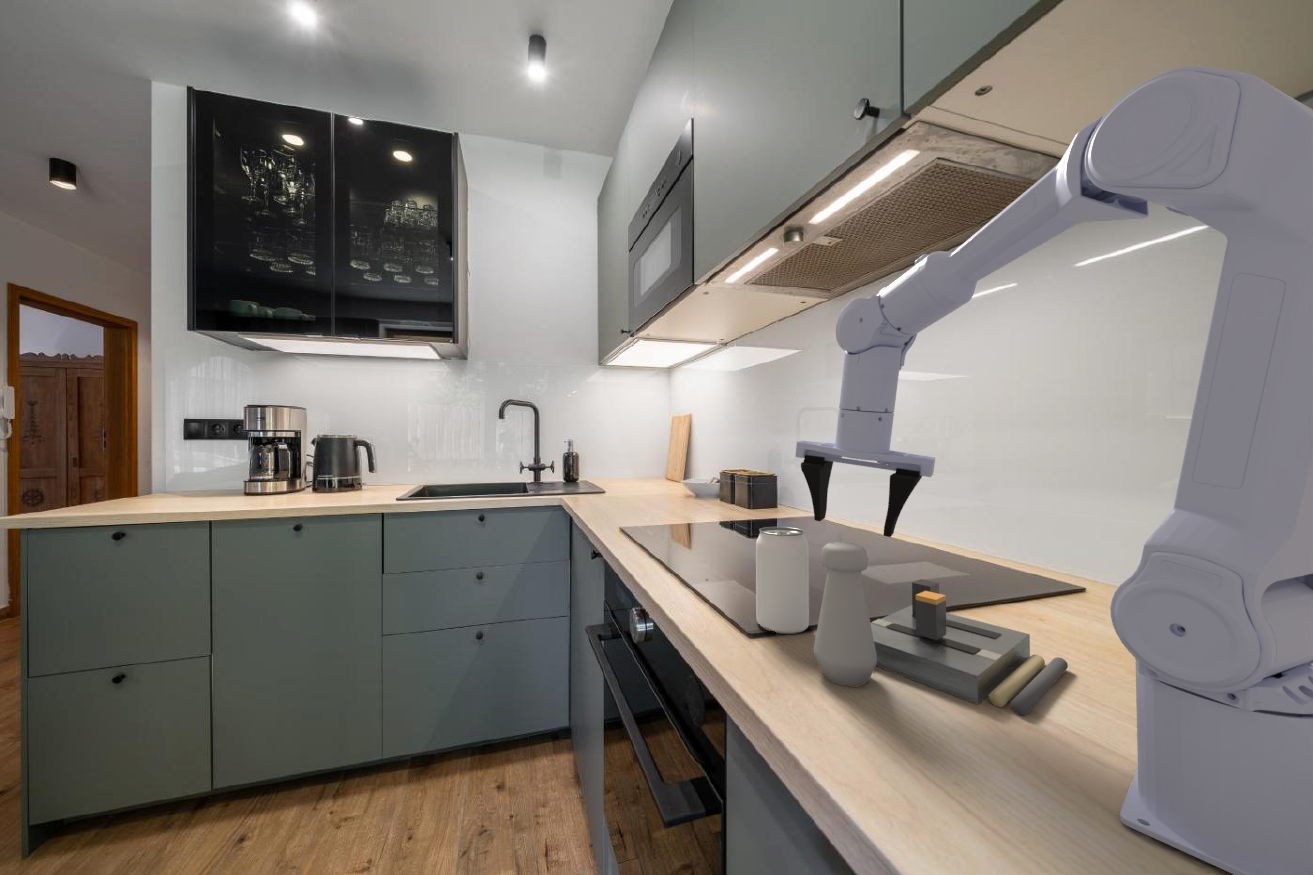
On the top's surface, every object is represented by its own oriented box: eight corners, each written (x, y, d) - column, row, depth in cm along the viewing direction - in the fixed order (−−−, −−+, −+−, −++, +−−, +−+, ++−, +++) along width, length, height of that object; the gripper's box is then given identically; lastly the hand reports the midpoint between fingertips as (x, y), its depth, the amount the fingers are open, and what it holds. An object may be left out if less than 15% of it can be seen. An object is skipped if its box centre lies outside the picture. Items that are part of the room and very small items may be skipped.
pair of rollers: (1069, 670, 47) (1069, 658, 47) (1028, 717, 39) (1027, 703, 39) (1034, 660, 49) (1034, 648, 50) (988, 703, 41) (988, 689, 41)
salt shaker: (838, 695, 43) (836, 551, 43) (802, 666, 48) (801, 540, 48) (891, 686, 44) (889, 548, 44) (850, 659, 50) (849, 537, 50)
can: (819, 632, 57) (818, 533, 57) (771, 637, 55) (770, 536, 56) (791, 614, 63) (791, 525, 64) (747, 618, 62) (747, 527, 62)
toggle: (946, 634, 49) (945, 595, 49) (936, 640, 48) (936, 599, 48) (926, 628, 51) (925, 590, 51) (916, 634, 49) (915, 594, 49)
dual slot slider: (1030, 657, 50) (1028, 596, 50) (977, 704, 41) (976, 629, 41) (913, 624, 60) (912, 572, 60) (849, 656, 50) (849, 595, 51)
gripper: (943, 415, 52) (927, 533, 54) (813, 404, 60) (803, 506, 62) (936, 417, 46) (919, 549, 48) (793, 405, 55) (783, 518, 56)
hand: (852, 526), depth 55 cm, fingers open, 7 cm apart
